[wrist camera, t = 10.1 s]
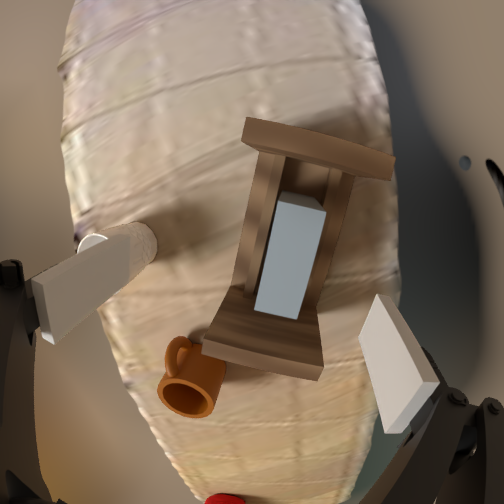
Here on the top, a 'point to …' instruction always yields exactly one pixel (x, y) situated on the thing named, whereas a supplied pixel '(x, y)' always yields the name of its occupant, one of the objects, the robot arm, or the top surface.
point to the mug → (190, 379)
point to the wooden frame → (258, 236)
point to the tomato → (224, 499)
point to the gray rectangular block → (290, 254)
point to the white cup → (140, 244)
